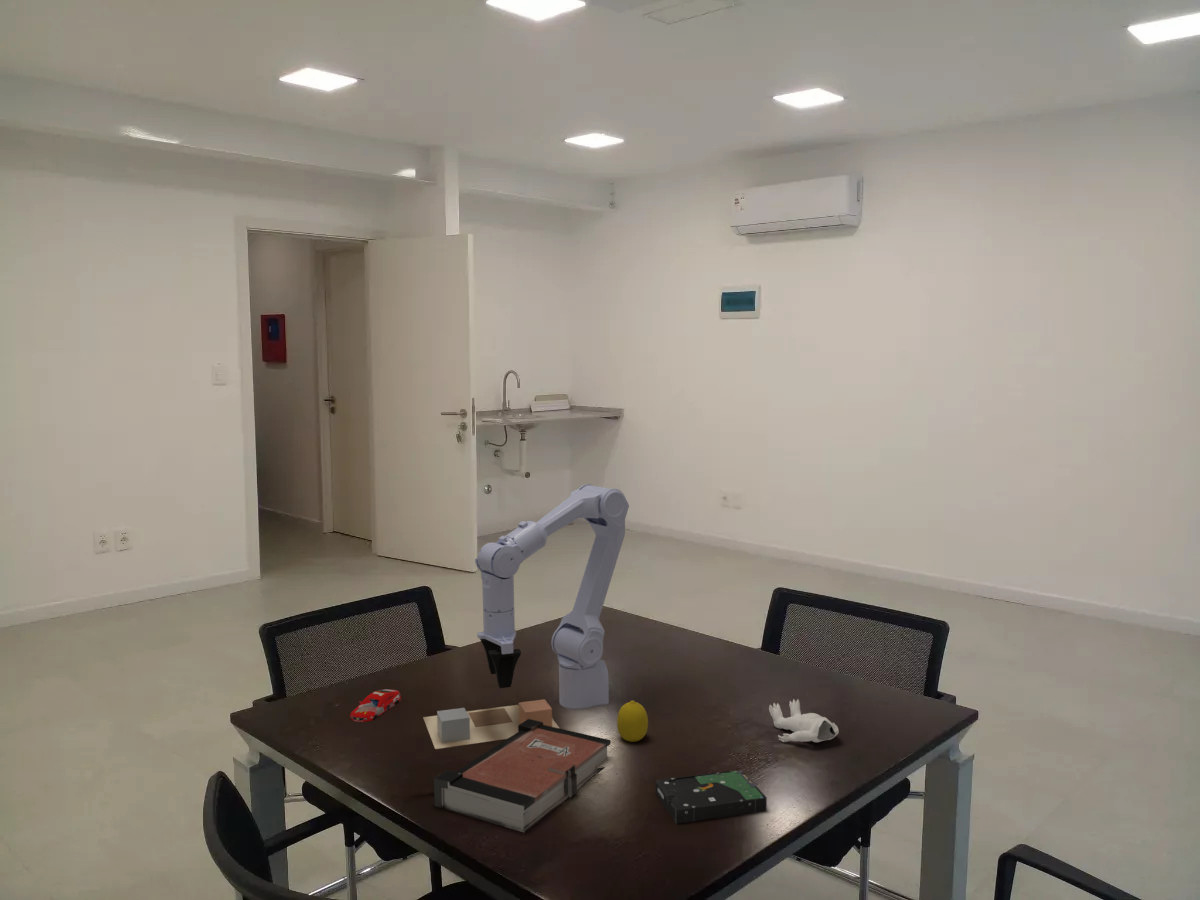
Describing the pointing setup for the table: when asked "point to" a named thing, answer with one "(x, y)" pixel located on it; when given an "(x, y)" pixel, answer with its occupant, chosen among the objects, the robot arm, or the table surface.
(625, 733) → the lemon
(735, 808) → the disk drive
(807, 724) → the toy creature
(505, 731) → the board
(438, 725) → the grey brick
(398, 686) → the table surface
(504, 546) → the robot arm
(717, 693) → the table surface
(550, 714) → the terracotta brick
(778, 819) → the table surface
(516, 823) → the book
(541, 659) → the table surface
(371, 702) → the race car
